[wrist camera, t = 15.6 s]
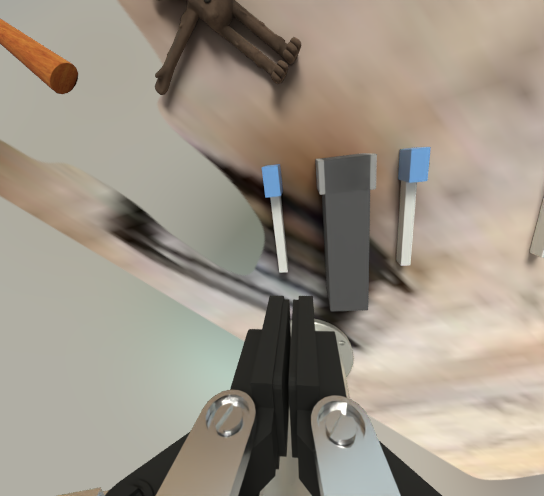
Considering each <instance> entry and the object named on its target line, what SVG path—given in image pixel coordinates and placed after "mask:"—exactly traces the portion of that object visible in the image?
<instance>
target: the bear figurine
mask: <svg viewBox="0 0 544 496" xmlns="http://www.w3.org/2000/svg"><path fill="white" fill-rule="evenodd" d="M233 16H234V17H235V18H236V19H238V20H239V21H240V22H241V23H242V24H244V25H245V26H246V27H247V28H248V29H250V30H251V31H252V32H253V33H254V34H256V35H257V36H258V37H259V38H260V39H262V40H263V41H264V42H265V43H266V44H268V45H269V46H270V47H271V48H272V49H274V50H275V51H276V52H277V53H278V54H280V55H281V56H282V57H283V58H284V59H285V61H286V62H287V63H288V64H290V65H291V64H293V62H294V61H295V59H296V57H297V56H298V53H299V51H300V48H301V42H300V40H299V39H297V38H295V37H293V38H292V39H291V40H290V42H289V43H288V44H286V43H285V40H284V39H283V38H282V37H280V36H278V35H276V34H274V33H273V32H272V31H271V30H270V29H268V28H267V27H266V26H265V25H264V23H263V22H261V21H259V20H258V19H257V18H255V17H254V16H253V15H252V14H251V13H249V12H248V11H247V10H246V9H245V8H243V7H242V6H241V5H240V4H239V3H238V2H236V1H235V0H188V1H187V10H186V12H185V13H184V14H183V15H182V17H181V20H180V21H181V23H180V25H179V29H178V32H177V34H176V37H175V39H174V42H173V44H172V46H171V48H170V50H169V52H168V54H167V58H166V61H165V63H164V65H163V66H162V68H161V69H160V70H159V71H158V72H157V73H156V74H155V77H156V78H158V79H157V82H156V84H155V89H156V91H157V92H158V93H159V94H160V95H164V94H165V93H166V92H167V90H168V88H169V85H170V82H171V78H172V75H173V72H174V69H175V67H176V65H177V63H178V60H179V58H180V56H181V54H182V52H183V50H184V48H185V46H186V44H187V42H188V40H189V38H190V36H191V34H192V31H193V29H194V27H195V25H196V23H197V20H198V18H201V19H202V20H203V21H205V22H206V23H207V24H208V25H209V26H210V27H211V28H212V29H213V30H214V31H215V32H217V33H218V34H220V35H221V36H223V37H224V38H225V39H226V40H228V41H229V42H230V43H231V44H233V45H234V46H235V47H236V48H238V49H239V50H240V51H242V52H243V53H244V54H245V55H246V56H247V57H248V58H250V59H251V60H253V61H254V62H255V63H256V65H257V66H258V67H260V68H263V69H264V70H265V71H267V72H268V73H269V74H270V75H271V78H272V80H273V81H274V82H275V83H277V84H280V83H282V82H283V80H284V78H285V76H286V74H287V71H288V65H287V63H286V62H284V61H282V60H279V61H278V62H277V64H276V63H274V62H273V61H272V60H270V59H269V58H268V57H267V56H265V55H264V54H263V53H262V52H261V51H260V50H259V49H258V48H256V47H255V46H253V45H252V44H251V43H249V42H248V41H247V40H246V39H244V38H243V37H242V36H241V35H239V34H238V33H237V32H236V31H235V30H233V29H232V28H231V27H230V26H229V25H230V22H231V20H232V18H233Z"/></svg>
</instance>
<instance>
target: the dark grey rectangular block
mask: <svg viewBox="0 0 544 496" xmlns="http://www.w3.org/2000/svg"><path fill="white" fill-rule="evenodd" d="M315 160H316V178H317V189H318V191H319V194H320V195H322V205H323V225H324V245H325V265H326V285H327V293H328V299H329V305H330V311H358V310H368V287H369V226H370V190H371V189H376V163H377V154H369V153H362V154H354V155H346V156H337V157H329V158H321V159H315Z"/></svg>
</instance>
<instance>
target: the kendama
mask: <svg viewBox="0 0 544 496" xmlns="http://www.w3.org/2000/svg"><path fill="white" fill-rule="evenodd" d="M0 44H1V45H2V46H4V47H5V48H6V49H7V50H8V51H9V52H10V53H12V54H13V55H14V56H15V57H16V58H17V59H18V60H19V61H21V62H22V63H23V64H24V65H25V66H26V67H27V68H29V69H30V70H31V71H32V72H33V73H34V74H35V75H36V76H38V77H39V78H40V79H41V80H42V81H43V82H44V83H46V84H47V85H48V86H49V87H50V88H51V89H52V90H54V91H55V92H56V93H59V94H65V93H68V92H70V91H71V90H72V89H73V88H74V87H75V85H76V83H77V80H78V72H77V69H76V67H75V66H74V65H73V64H71V63H70V62H68V61H66V60H65V59H63V58H62V57H60V56H59V55H57V54H55V53H54V52H52V51H51V50H49V49H47V48H45V47H44V46H43V45H41V44H40V43H38V42H36V41H35V40H33V39H32V38H30V37H28V36H27V35H25V34H24V33H22V32H21V31H19V30H17V29H16V28H14V27H12V26H11V25H9V24H8V23H6V22H5V21H3V20H2V19H0Z"/></svg>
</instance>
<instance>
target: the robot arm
mask: <svg viewBox="0 0 544 496" xmlns="http://www.w3.org/2000/svg"><path fill="white" fill-rule="evenodd" d="M353 361H354V356H353V350H352V347H351V343H350V342H349V340H348V338H347V337H346V335H345V334H344V333H343V332H342V331H341V330H340V329H338V328H337V327H336V326H334V325H332V324H330V323H328V322H325V321H322V320H318V319H314V307H313V296H299V300H293V314H292V320H291V321H290V304H289V300H284V296H270V297H269V302H268V306H267V311H266V315H265V320H264V324H263V328H262V330H260V329H249V330H248V333H247V336H246V339H245V342H244V346H243V349H242V352H241V356H240V359H239V362H238V366H237V369H236V372H235V375H234V379H233V382H232V385H231V389H230V390H227V391H222V392H221V393H219V394H217V395H215V396H214V397H212V398H211V399H210V400H209V401H208V402H207V404H206V405H205V406H204V408H203V409H202V411H201V413H200V415H199V417H198V418H197V420H196V422H195V424H194V426H193V428H192V430H191V431H190V432H189V433H188V434H186V435H185V436H183V437H182V438H181V439H179V440H178V441H176V442H175V443H173V444H172V445H171V446H169V447H168V448H166V449H165V450H164V451H162V452H161V453H159V454H158V455H157V456H155V457H154V458H152V459H151V460H150V461H148V462H147V463H145V464H144V465H142V466H141V467H140V468H138V469H137V470H135V471H134V472H133V473H131V474H130V475H128V476H127V477H125V478H124V479H123V480H121V481H120V482H119V483H117V484H116V485H115V486H114V487H113V488H112V489H110V490H108V491H102V489H101V488H95V489H90V490H84V491H79V492H73V493H68V494H63V495H58V496H442V495H441V494H440V493H438V492H437V491H436V490H435V489H434V488H433V487H432V486H430V485H429V484H428V483H427V482H426V481H424V480H423V479H422V478H421V477H420V476H419V475H418V474H417V473H415V472H414V471H413V470H412V469H411V468H410V467H409V466H407V465H406V464H405V463H404V462H403V461H402V460H401V459H399V458H398V457H397V456H396V455H395V454H394V453H392V452H391V451H390V450H389V449H388V448H387V447H385V446H384V445H383V444H382V443H381V442H380V441H379V440H378V438H377V435H376V433H375V431H374V428H373V426H372V423H371V421H370V419H369V417H368V415H367V413H366V412H365V410H364V409H363V408H362V407H361V406H360V405H359V404H358V403H356V402H354V401H353V400H351V399H350V396H349V390H348V385H347V380H346V377H347V376H348V374H349V373H350V371H351V369H352V366H353Z"/></svg>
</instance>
